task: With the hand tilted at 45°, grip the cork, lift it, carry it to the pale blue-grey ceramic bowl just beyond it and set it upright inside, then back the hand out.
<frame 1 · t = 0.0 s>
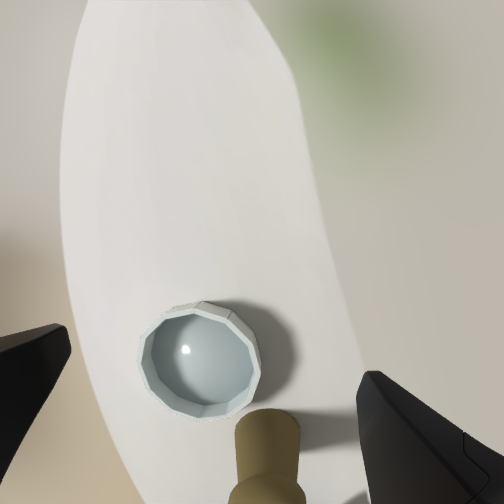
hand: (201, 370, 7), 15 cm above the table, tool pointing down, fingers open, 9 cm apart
cork: (267, 433, 23), on the table
bowl: (202, 357, 23), on the table
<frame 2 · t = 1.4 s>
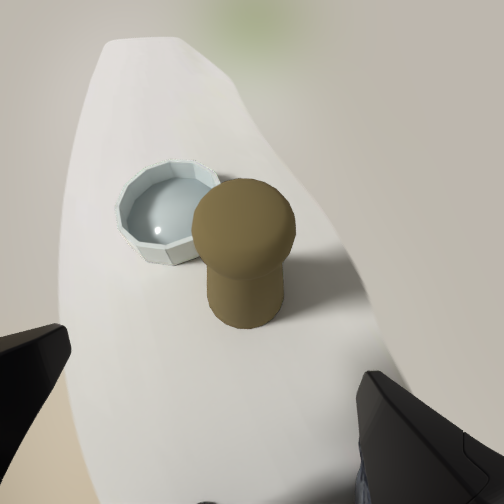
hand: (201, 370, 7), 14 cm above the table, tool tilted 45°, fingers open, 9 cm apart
cork: (245, 292, 23), on the table
stone: (353, 486, 15), on the table
bowl: (173, 217, 26), on the table
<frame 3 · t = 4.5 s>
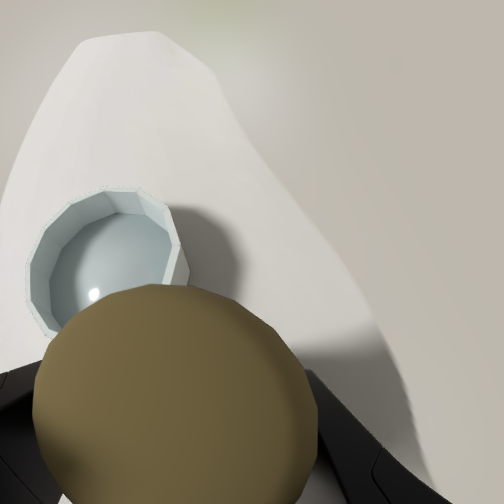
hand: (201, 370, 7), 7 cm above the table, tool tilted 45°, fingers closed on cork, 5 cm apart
cork: (218, 412, 13), on the table, touching gripper
bowl: (111, 279, 16), on the table
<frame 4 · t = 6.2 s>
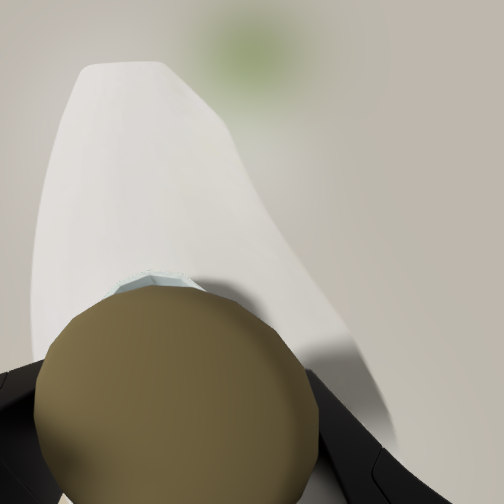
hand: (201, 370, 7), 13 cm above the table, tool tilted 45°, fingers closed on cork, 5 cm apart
cork: (220, 412, 13), point 6 cm above the table, touching gripper
bowl: (162, 346, 20), on the table
when the fingers open (8 cm above the table, at t = 8.1 s): cork stays where it is, resting on bowl.
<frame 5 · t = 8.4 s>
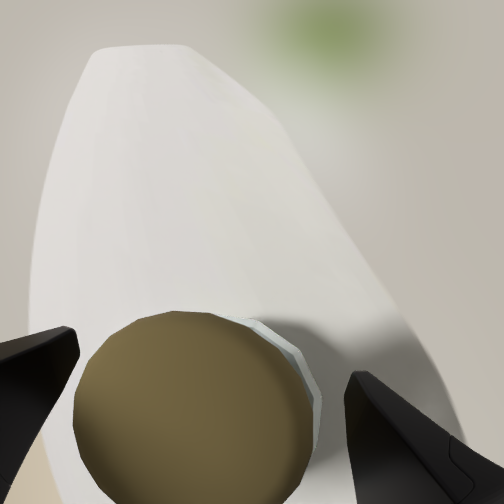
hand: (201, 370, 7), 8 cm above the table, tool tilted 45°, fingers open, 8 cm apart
cork: (223, 414, 14), resting on bowl
bowl: (221, 411, 14), on the table
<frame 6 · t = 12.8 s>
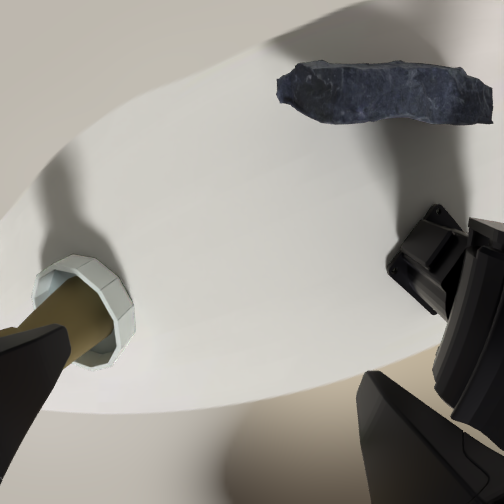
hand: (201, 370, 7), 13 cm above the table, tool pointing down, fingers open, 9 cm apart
cork: (87, 308, 22), resting on bowl
stone: (379, 109, 17), on the table
bowl: (88, 307, 22), on the table
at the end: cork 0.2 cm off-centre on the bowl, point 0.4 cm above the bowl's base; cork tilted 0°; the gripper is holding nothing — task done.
